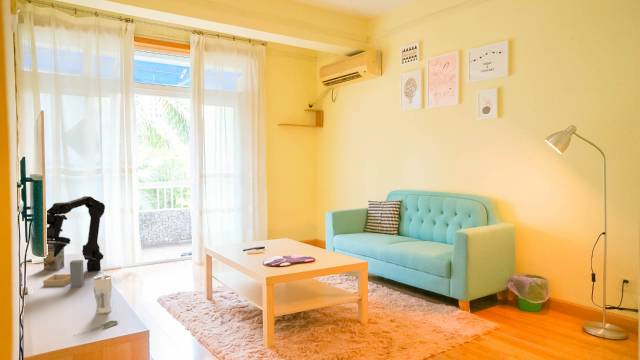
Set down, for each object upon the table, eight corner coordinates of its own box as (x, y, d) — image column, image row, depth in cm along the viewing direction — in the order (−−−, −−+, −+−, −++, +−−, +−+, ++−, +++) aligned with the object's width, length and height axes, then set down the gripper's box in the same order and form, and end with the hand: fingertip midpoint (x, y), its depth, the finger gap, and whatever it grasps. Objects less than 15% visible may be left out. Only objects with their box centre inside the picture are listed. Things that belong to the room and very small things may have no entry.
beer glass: (92, 311, 187) (90, 277, 186) (108, 307, 192) (107, 274, 191) (98, 315, 182) (96, 281, 181) (115, 311, 187) (114, 277, 186)
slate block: (83, 284, 225) (82, 259, 224) (81, 286, 221) (80, 261, 220) (73, 285, 224) (72, 260, 223) (70, 287, 220) (69, 262, 219)
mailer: (80, 276, 240) (80, 270, 240) (65, 285, 223) (65, 280, 223) (60, 276, 239) (60, 271, 239) (43, 286, 222) (43, 280, 222)
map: (120, 323, 175) (120, 321, 175) (70, 343, 157) (70, 341, 157) (113, 321, 177) (113, 319, 177) (62, 340, 160) (62, 338, 160)
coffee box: (43, 269, 253) (41, 242, 252) (50, 266, 260) (49, 240, 259) (57, 269, 252) (56, 242, 251) (65, 267, 259) (64, 240, 258)
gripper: (27, 222, 221) (18, 253, 216) (57, 223, 216) (49, 255, 212) (45, 227, 231) (37, 256, 227) (74, 228, 227) (66, 258, 222)
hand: (47, 256), depth 221 cm, fingers open, 9 cm apart
